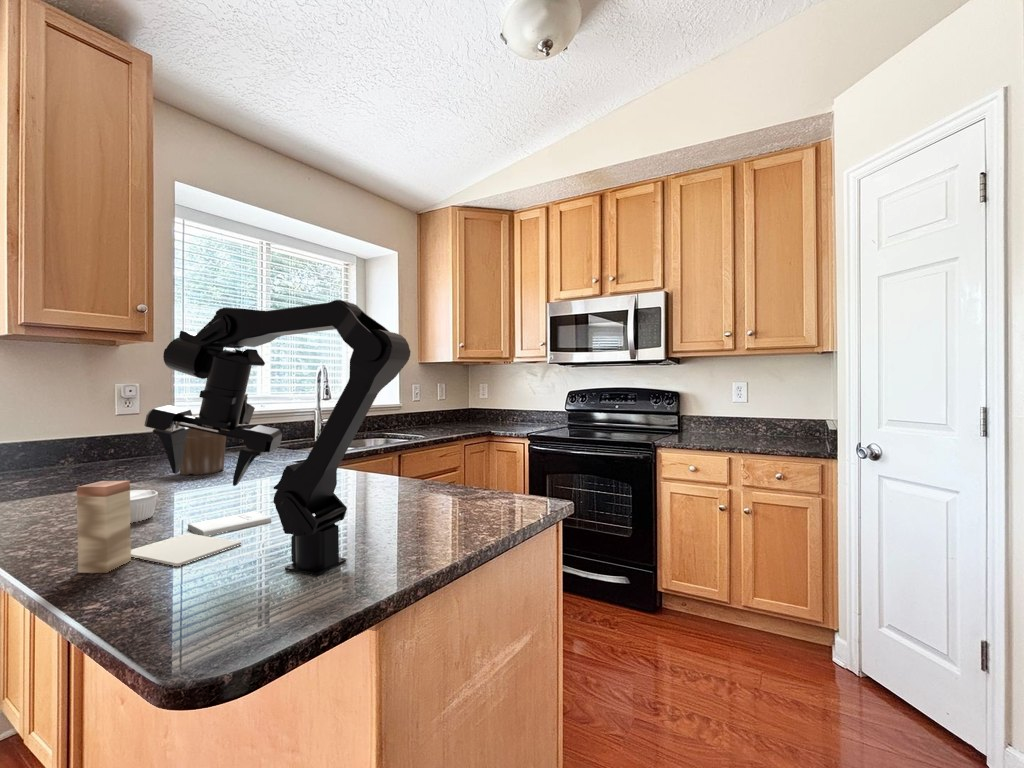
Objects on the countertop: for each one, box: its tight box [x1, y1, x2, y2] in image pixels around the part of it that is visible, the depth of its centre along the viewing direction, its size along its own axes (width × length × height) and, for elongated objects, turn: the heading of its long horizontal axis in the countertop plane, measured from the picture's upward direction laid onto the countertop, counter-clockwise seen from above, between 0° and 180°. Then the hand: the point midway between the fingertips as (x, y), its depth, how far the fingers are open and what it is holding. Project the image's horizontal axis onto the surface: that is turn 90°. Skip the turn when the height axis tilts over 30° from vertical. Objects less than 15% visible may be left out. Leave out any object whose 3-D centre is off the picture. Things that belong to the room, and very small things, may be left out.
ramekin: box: [130, 489, 159, 524], centre depth 104 cm, size 11×11×5 cm
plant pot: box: [179, 425, 229, 476], centre depth 160 cm, size 16×16×16 cm
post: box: [76, 480, 132, 574], centre depth 77 cm, size 4×4×13 cm
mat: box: [131, 532, 242, 567], centre depth 84 cm, size 14×11×1 cm
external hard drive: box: [187, 511, 272, 537], centre depth 99 cm, size 2×8×12 cm
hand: (205, 479), depth 80 cm, fingers open, 9 cm apart
